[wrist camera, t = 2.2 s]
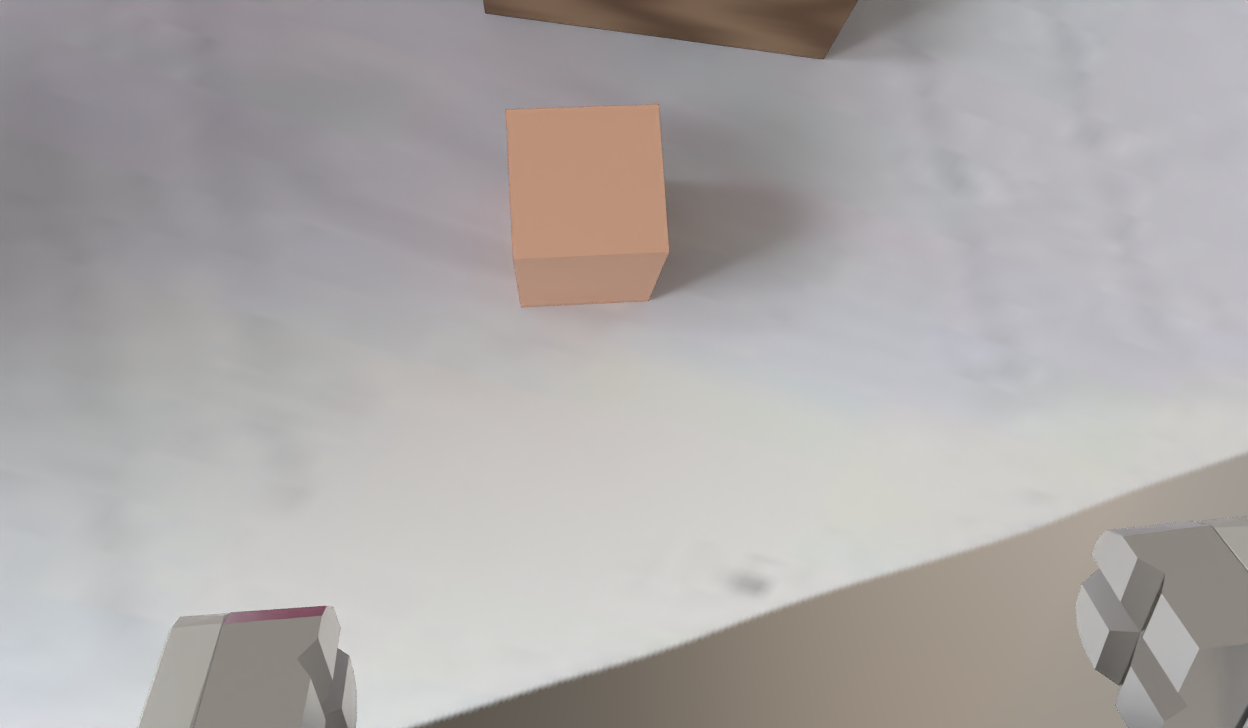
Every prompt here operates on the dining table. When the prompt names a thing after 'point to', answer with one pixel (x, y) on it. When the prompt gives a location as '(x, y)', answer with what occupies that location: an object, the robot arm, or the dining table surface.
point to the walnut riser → (701, 20)
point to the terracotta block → (586, 203)
